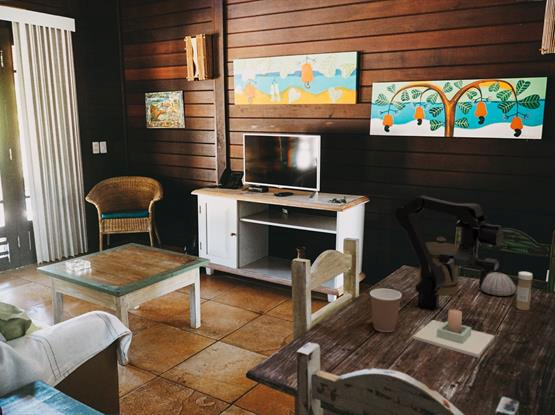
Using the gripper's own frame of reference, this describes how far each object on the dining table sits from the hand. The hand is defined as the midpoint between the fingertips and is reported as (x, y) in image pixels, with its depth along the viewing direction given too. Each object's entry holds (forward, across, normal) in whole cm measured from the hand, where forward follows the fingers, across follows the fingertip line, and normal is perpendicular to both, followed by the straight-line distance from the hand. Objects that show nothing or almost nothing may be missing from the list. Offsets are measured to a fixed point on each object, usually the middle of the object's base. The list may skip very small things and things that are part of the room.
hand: (466, 284), depth 169 cm
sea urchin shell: (+12, +2, +34) cm, 36 cm away
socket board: (+12, +3, -19) cm, 23 cm away
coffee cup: (+12, -18, -25) cm, 33 cm away
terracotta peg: (+11, +3, -19) cm, 22 cm away
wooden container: (+12, -18, +23) cm, 32 cm away
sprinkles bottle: (+12, +14, +22) cm, 29 cm away
